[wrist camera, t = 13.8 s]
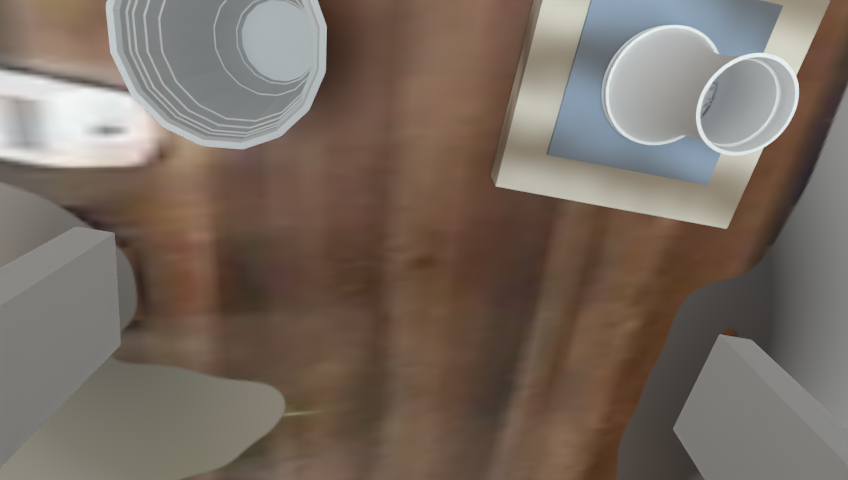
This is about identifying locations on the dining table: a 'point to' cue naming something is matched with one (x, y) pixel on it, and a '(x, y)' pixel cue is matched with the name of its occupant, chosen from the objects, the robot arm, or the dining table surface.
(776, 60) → the white flared tube
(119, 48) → the plastic cup
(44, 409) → the robot arm
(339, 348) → the dining table surface
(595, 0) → the plinth
